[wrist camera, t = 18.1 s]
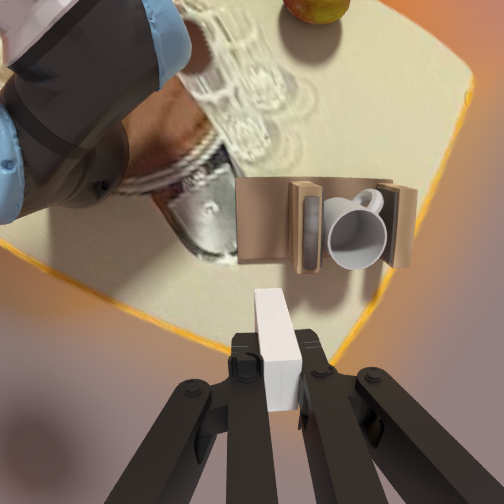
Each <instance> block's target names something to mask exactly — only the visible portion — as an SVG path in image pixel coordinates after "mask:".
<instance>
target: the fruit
mask: <svg viewBox="0 0 504 504" xmlns="http://www.w3.org/2000/svg"><path fill="white" fill-rule="evenodd" d="M283 1H284V4H285V6H286V8H287V9H288V10H289V11H290V12H291V14H293V15H294V16H295V17H297V18H298V19H300V20H301V21H304V22H307V23H311V24H328V23H332V22H334V21H336V20H338V19H340V18H341V17H342V16H343V15H344V14H345V12H346V11H347V10H348V8H349V4H350V0H283Z"/></svg>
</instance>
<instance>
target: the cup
mask: <svg viewBox="0 0 504 504" xmlns="http://www.w3.org/2000/svg"><path fill="white" fill-rule="evenodd" d="M369 201H371V202H370V204H369V205H368V207H367V208H366V207H364V206H363V205H364V204H365V203H367V202H369ZM383 203H384V200H383V197H382V194H381V193H380V192H379V191H377V190H374V189H366V190H363V191H362V192H360V193H359V194H358V195H357V196H356V197H355V198H354V199H353V200H352V201H350V200H348V199H345V198H341V197H334V198H330V199H327V200H326V201H324V226H323V248H324V249H325V250H326V251H327V253H328V254H329V255H330V256H331V257H332V259H333V260H334V261H335V262H336V263H337V264H338V265H340V266H341V267H343V268H345V269H349V270H361V269H364V268H367V267H369V266H370V265H372V264H374V263H375V262H376V261H377V260H378V259H379V258H380V256H381V254H382V253H383V251H384V248H385V246H386V241H387V231H386V227H385V224H384V222H383V220H382V219H381V217H380V216H379V215H378V214H379V212H380V211H381V209H382V207H383Z"/></svg>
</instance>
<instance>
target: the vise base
mask: <svg viewBox="0 0 504 504" xmlns="http://www.w3.org/2000/svg"><path fill="white" fill-rule="evenodd" d="M289 181H309V182H312V183H314V184H317V185H319V186H322V190H324V201H326V200H327V199H330V198H334V197H341V198H345V199H348V200H350V201H352V200H353V199H354V198H355V197H356V196H357V195H358V194H359V193H360V192H362V191H363V190H366V189H374V190H377V191H379V192H380V193H381V194H382V197H383V200H384V203H383V207H382V209H381V211H380V212H379V214H378V215H379V216H380V217H381V219H382V220H383V222H384V224H385V227H386V231H387V241H386V246H385V248H384V251H383V253H382V254H381V256H380V258H381V259H382V260H383V261H385V262H386V263H387V264H388V265H389V266H391V267H392V268H409V267H410V264H411V256H412V248H413V240H414V230H415V220H416V207H417V192H418V190H416V189H412V188H408V187H404V186H400V185H396V184H393V180H389V179H369V178H342V177H241V178H236V211H237V242H238V260H239V259H272V258H290V257H289ZM370 202H371V201H369V202H367V203H365V204H364V205H363V206H364V207H366V208H367V207H368V205H369V204H370ZM322 257H331V256H330V255H329V254H328V253H327V251H326V250H325V249H324V248H323V250H322Z"/></svg>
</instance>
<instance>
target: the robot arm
mask: <svg viewBox="0 0 504 504" xmlns="http://www.w3.org/2000/svg"><path fill="white" fill-rule="evenodd" d="M0 37H1V40H2V43H3V64H4V65H5V66H6V67H7V68H9V69H10V70H12V71H13V72H14V74H13V75H12V76H11V77H10V79H9V80H8V81H7V82H6V84H5V85H4V86H3V88H2V89H1V90H0V225H3V224H4V225H6V224H9V223H11V222H13V221H14V220H16V219H18V218H21V217H23V216H26V215H28V214H31V213H34V212H36V211H39V210H42V209H44V208H47V207H50V206H53V205H55V204H57V205H60V206H63V207H67V208H74V209H77V208H85V207H89V206H92V205H94V204H97V203H99V202H101V201H103V200H104V199H106V198H107V197H108V196H109V195H111V194H112V193H113V191H114V190H115V189H116V188H117V187H118V185H119V184H120V182H121V180H122V178H123V176H124V174H125V171H126V168H127V164H128V157H129V143H128V138H127V134H126V131H125V128H124V126H123V124H122V122H121V121H122V120H123V119H124V118H125V117H126V116H127V115H128V114H129V113H130V112H131V111H133V110H134V109H135V108H136V107H137V106H138V105H139V104H141V103H142V102H143V101H144V100H145V99H146V98H148V97H149V96H150V95H151V94H152V93H154V92H155V91H156V92H158V91H160V90H161V89H162V88H163V86H164V84H165V83H166V82H167V81H168V80H169V79H171V78H172V77H173V76H174V75H175V74H177V73H178V72H179V71H180V70H181V69H183V68H184V67H185V66H186V65H187V63H188V62H189V59H190V56H191V49H192V46H191V41H190V37H189V34H188V31H187V29H186V26H185V24H184V22H183V20H182V18H181V16H180V14H179V12H178V10H177V8H176V7H175V5H174V3H173V2H172V0H0ZM254 307H255V333H236V334H235V336H234V337H233V338H232V345H231V346H232V347H231V356H230V357H229V359H228V369H229V377H228V378H227V379H226V380H225V381H223V382H221V383H218V384H215V385H211V386H209V384H208V383H207V382H205V381H202V380H200V379H190V380H185V381H183V382H181V383H180V384H179V385H178V386H177V387H176V388H175V390H174V392H173V394H172V395H171V397H170V398H169V400H168V402H167V403H166V405H165V406H164V408H163V409H162V411H161V413H160V414H159V416H158V418H157V419H156V421H155V423H154V424H153V426H152V427H151V429H150V431H149V432H148V434H147V435H146V437H145V439H144V440H143V442H142V443H141V445H140V447H139V448H138V450H137V451H136V453H135V455H134V456H133V458H132V459H131V461H130V463H129V464H128V466H127V467H126V469H125V471H124V472H123V474H122V475H121V477H120V478H119V480H118V482H117V483H116V485H115V486H114V488H113V490H112V491H111V493H110V494H109V496H108V498H107V500H106V501H105V502H104V504H189V503H190V500H191V498H192V495H193V493H194V491H195V488H196V486H197V484H198V481H199V479H200V476H201V474H202V471H203V469H204V467H205V464H206V462H207V459H208V457H209V454H210V452H211V450H212V447H213V445H214V442H215V440H216V437H217V434H219V433H223V432H227V431H228V435H227V483H226V504H278V497H277V488H276V480H275V470H274V462H273V452H272V443H271V435H270V426H269V417H268V412H269V411H284V410H297V409H298V402H299V406H300V416H299V424H298V430H300V429H302V434H303V438H304V443H305V448H306V453H307V458H308V463H309V468H310V473H311V478H312V483H313V488H314V493H315V498H316V503H317V504H388V501H387V499H386V496H385V493H384V490H383V487H382V485H381V482H380V480H379V477H378V474H377V471H376V469H375V466H374V463H373V461H374V462H375V463H376V465H377V466H378V467H379V469H380V470H381V471H382V473H383V474H384V475H385V477H386V478H387V479H388V481H389V482H390V483H391V485H392V486H393V487H394V489H395V490H396V491H397V493H398V494H399V495H400V496H401V498H402V499H403V500H404V502H405V503H406V504H504V487H503V486H502V485H501V484H500V483H499V482H498V481H497V480H496V479H495V478H494V477H493V476H492V475H491V474H490V473H489V472H488V471H487V470H486V469H485V468H484V467H483V466H482V465H481V464H480V463H479V462H478V461H477V460H475V458H474V457H473V456H472V455H471V454H470V453H469V452H468V451H467V450H466V449H465V448H464V447H463V446H461V444H459V443H458V441H457V440H455V439H454V438H453V437H452V436H451V435H450V434H449V433H448V432H447V431H446V430H445V429H444V428H443V427H442V426H441V425H440V424H439V423H438V422H437V421H436V420H435V419H434V418H433V417H432V416H431V415H430V414H429V413H428V412H427V411H426V410H425V409H424V408H423V407H422V406H421V405H420V404H419V403H418V402H417V401H416V400H415V399H414V398H413V397H412V396H410V395H409V394H408V393H407V392H406V391H405V390H404V389H403V388H402V387H401V386H400V385H399V384H398V383H397V382H396V381H395V380H394V379H393V378H392V377H391V376H390V375H389V374H388V373H387V372H386V371H384V370H383V369H380V368H377V367H367V368H364V369H361V370H360V371H359V372H358V374H357V376H350V375H343V374H340V373H338V372H337V370H336V369H335V367H334V366H332V365H330V364H329V363H328V361H327V358H326V356H325V353H324V351H323V348H322V347H321V343H320V342H319V338H318V336H317V334H316V333H315V332H314V331H312V330H311V329H301V330H294V329H293V325H292V322H291V319H290V315H289V312H288V308H287V305H286V302H285V298H284V295H283V292H282V288H271V289H254ZM372 459H373V461H372Z"/></svg>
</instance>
